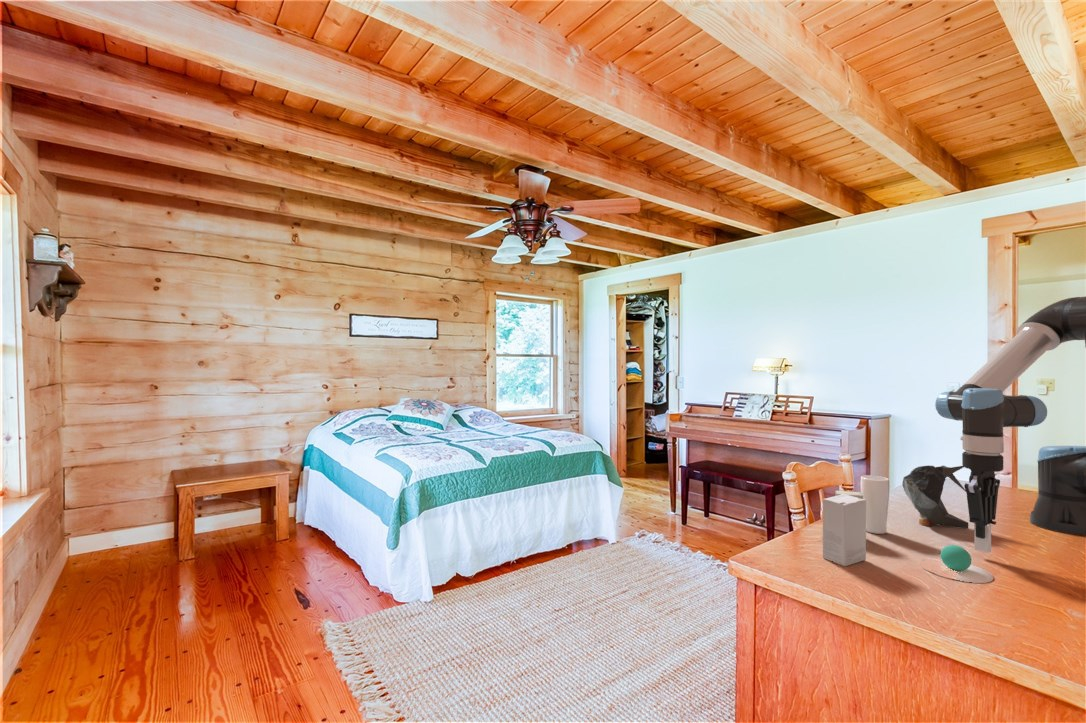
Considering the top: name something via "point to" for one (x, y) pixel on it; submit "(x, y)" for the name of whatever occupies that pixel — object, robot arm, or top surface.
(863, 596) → the top surface
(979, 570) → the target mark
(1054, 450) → the robot arm
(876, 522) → the drinking glass
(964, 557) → the ball
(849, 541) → the skincare box
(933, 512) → the bird figurine
